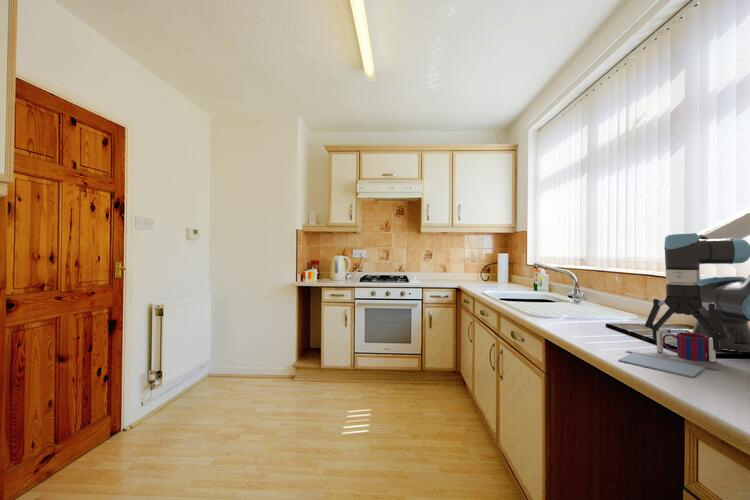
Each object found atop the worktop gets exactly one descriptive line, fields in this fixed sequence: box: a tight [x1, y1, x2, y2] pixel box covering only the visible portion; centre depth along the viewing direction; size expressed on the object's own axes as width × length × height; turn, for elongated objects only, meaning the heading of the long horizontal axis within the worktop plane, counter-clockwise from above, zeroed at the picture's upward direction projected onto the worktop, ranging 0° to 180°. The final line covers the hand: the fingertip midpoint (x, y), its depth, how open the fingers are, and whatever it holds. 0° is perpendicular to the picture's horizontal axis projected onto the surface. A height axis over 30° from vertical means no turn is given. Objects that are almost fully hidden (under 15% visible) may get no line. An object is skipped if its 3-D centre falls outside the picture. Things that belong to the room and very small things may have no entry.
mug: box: [663, 332, 710, 362], centre depth 97 cm, size 7×10×7 cm
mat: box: [617, 353, 706, 379], centre depth 90 cm, size 11×16×1 cm
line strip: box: [625, 349, 719, 371], centre depth 94 cm, size 2×20×1 cm, turn 33°
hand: (685, 355), depth 97 cm, fingers open, 11 cm apart
